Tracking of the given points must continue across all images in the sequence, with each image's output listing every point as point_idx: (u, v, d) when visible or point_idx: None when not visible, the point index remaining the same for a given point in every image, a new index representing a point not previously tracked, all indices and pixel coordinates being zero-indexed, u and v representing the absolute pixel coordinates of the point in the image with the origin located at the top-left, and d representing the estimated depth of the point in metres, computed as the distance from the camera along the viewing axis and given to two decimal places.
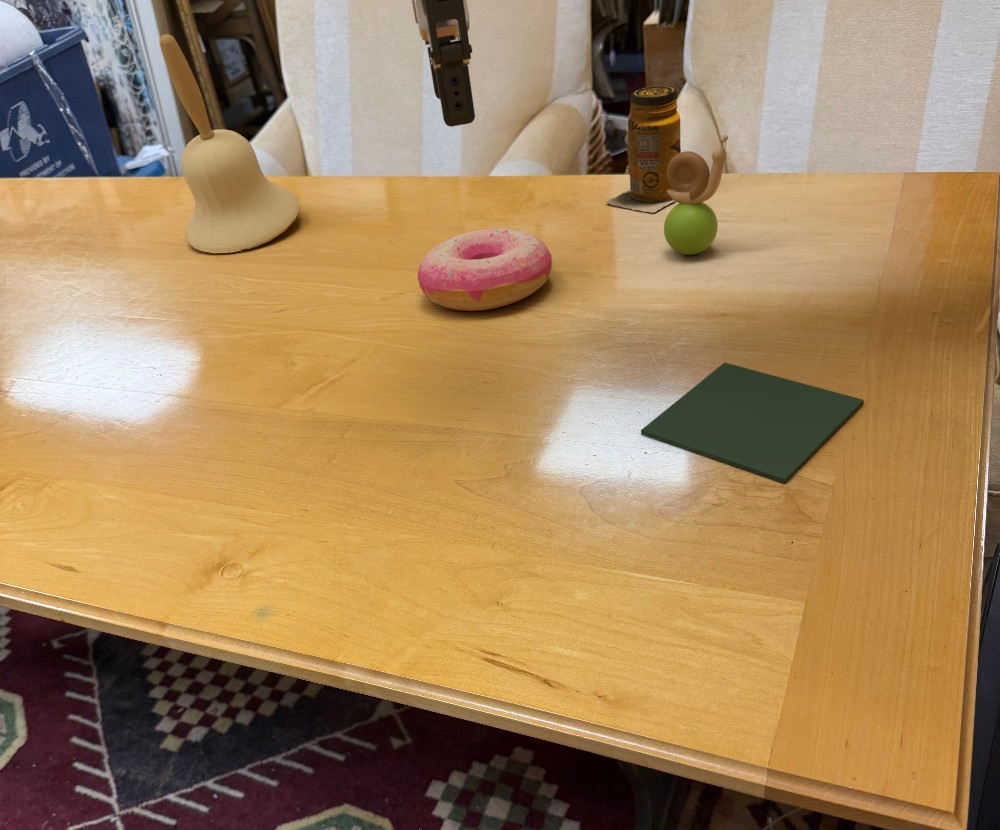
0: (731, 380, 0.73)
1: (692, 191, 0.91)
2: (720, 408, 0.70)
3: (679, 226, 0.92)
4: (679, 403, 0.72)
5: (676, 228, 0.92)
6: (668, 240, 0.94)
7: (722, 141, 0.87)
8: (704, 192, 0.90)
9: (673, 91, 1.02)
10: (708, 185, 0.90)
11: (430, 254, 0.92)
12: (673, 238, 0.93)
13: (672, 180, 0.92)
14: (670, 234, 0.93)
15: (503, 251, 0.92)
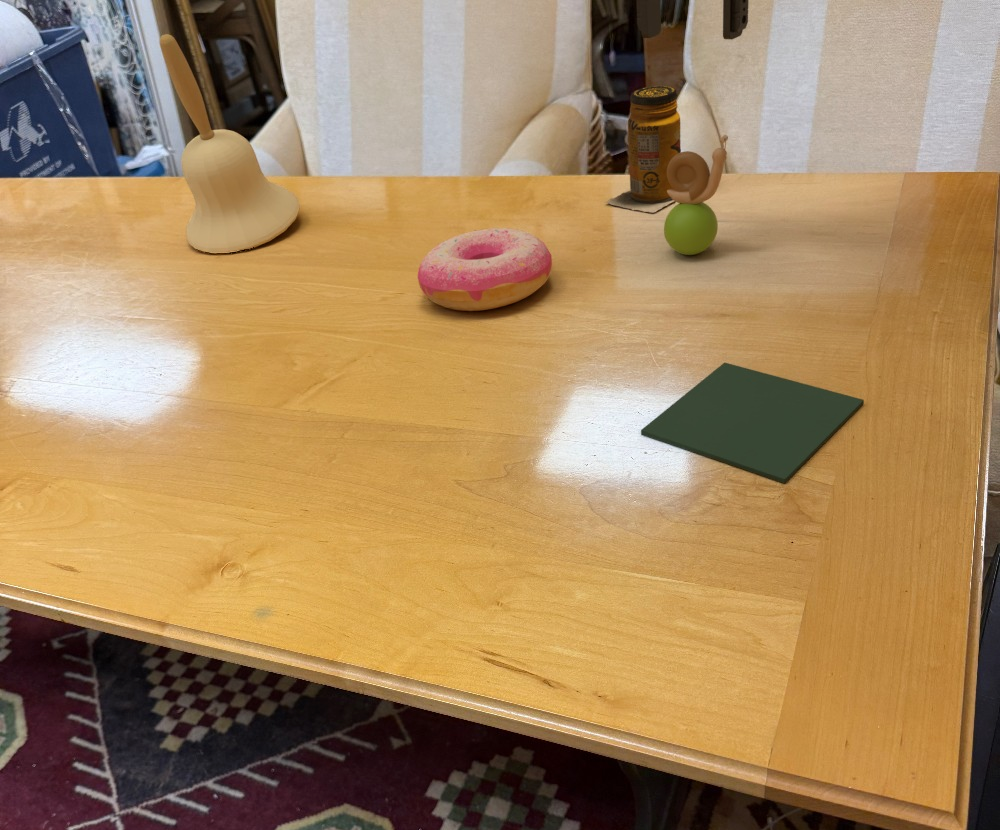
0: (731, 380, 0.73)
1: (692, 191, 0.91)
2: (720, 408, 0.70)
3: (679, 226, 0.92)
4: (679, 403, 0.72)
5: (676, 228, 0.92)
6: (668, 240, 0.94)
7: (722, 141, 0.87)
8: (704, 192, 0.90)
9: (673, 91, 1.02)
10: (708, 185, 0.90)
11: (430, 254, 0.92)
12: (673, 238, 0.93)
13: (672, 180, 0.92)
14: (670, 234, 0.93)
15: (503, 251, 0.92)
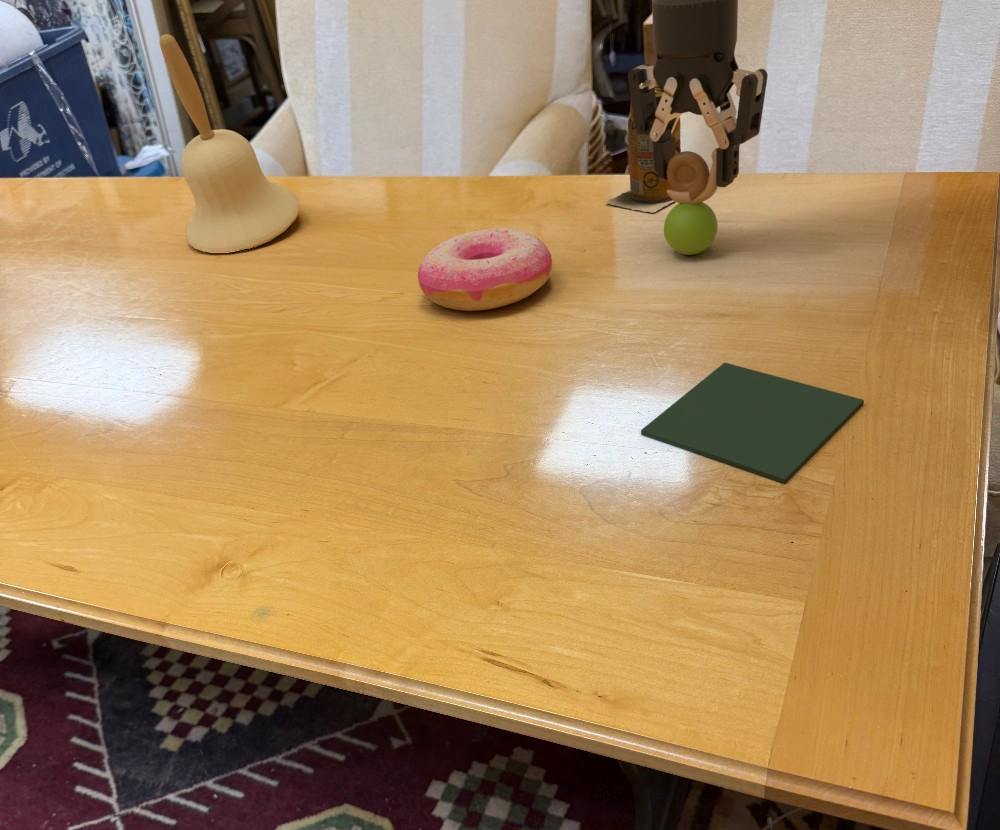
0: (731, 380, 0.73)
1: (692, 191, 0.91)
2: (720, 408, 0.70)
3: (679, 225, 0.92)
4: (679, 403, 0.72)
5: (675, 228, 0.92)
6: (668, 240, 0.94)
7: None
8: (704, 192, 0.90)
9: None
10: (708, 185, 0.90)
11: (430, 254, 0.92)
12: (673, 238, 0.93)
13: (672, 180, 0.92)
14: (670, 234, 0.93)
15: (503, 251, 0.92)
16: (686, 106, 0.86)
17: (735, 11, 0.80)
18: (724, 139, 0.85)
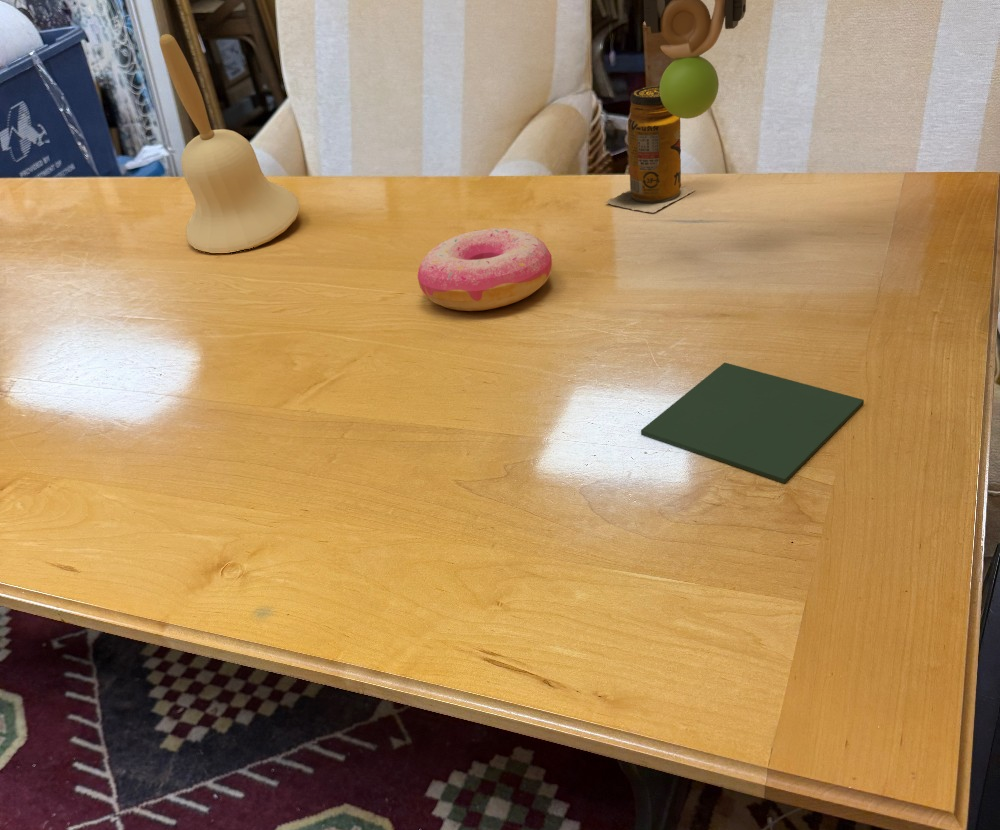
0: (731, 380, 0.73)
1: (693, 40, 0.82)
2: (720, 408, 0.70)
3: (684, 81, 0.83)
4: (679, 403, 0.72)
5: (680, 84, 0.83)
6: (669, 102, 0.84)
7: None
8: (706, 40, 0.82)
9: None
10: (711, 31, 0.81)
11: (430, 254, 0.92)
12: (677, 97, 0.84)
13: (668, 32, 0.82)
14: (673, 93, 0.84)
15: (503, 251, 0.92)
16: None
17: None
18: None
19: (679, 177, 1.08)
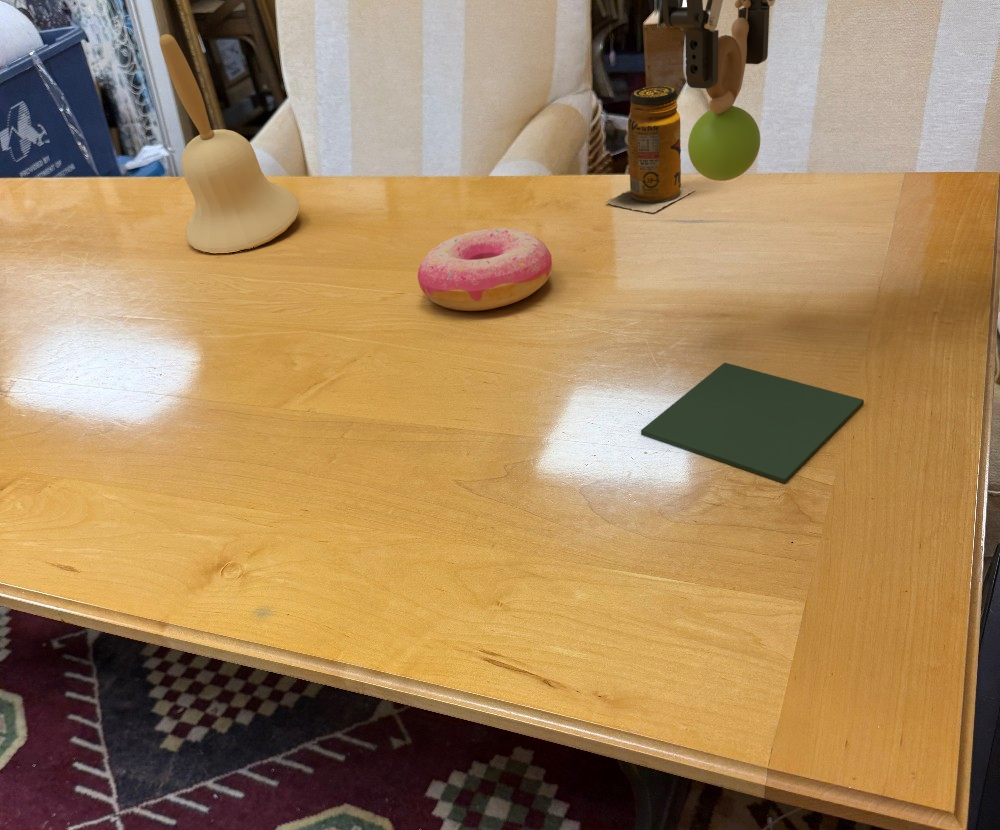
0: (731, 380, 0.73)
1: (737, 85, 0.68)
2: (720, 408, 0.70)
3: (754, 130, 0.68)
4: (679, 403, 0.72)
5: (753, 135, 0.68)
6: (742, 160, 0.69)
7: (750, 4, 0.67)
8: (740, 83, 0.69)
9: (673, 91, 1.02)
10: None
11: (430, 254, 0.92)
12: (753, 150, 0.69)
13: (720, 82, 0.66)
14: (749, 148, 0.68)
15: (503, 251, 0.92)
16: None
17: None
18: None
19: (679, 177, 1.08)
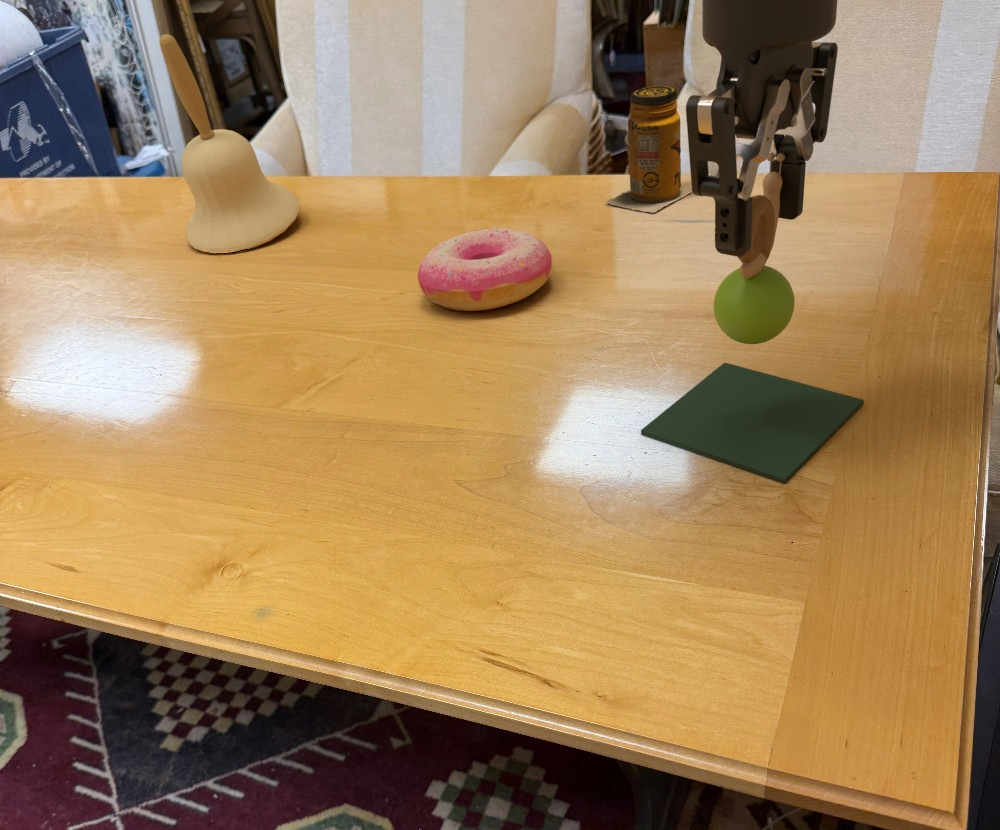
0: (731, 380, 0.73)
1: (769, 246, 0.61)
2: (720, 408, 0.70)
3: (789, 295, 0.61)
4: (679, 403, 0.72)
5: (787, 300, 0.61)
6: (775, 327, 0.62)
7: (784, 158, 0.60)
8: None
9: (673, 91, 1.02)
10: None
11: (430, 254, 0.92)
12: (787, 316, 0.62)
13: (752, 247, 0.59)
14: (783, 314, 0.61)
15: (503, 251, 0.92)
16: (777, 122, 0.56)
17: None
18: (810, 146, 0.59)
19: (679, 177, 1.08)
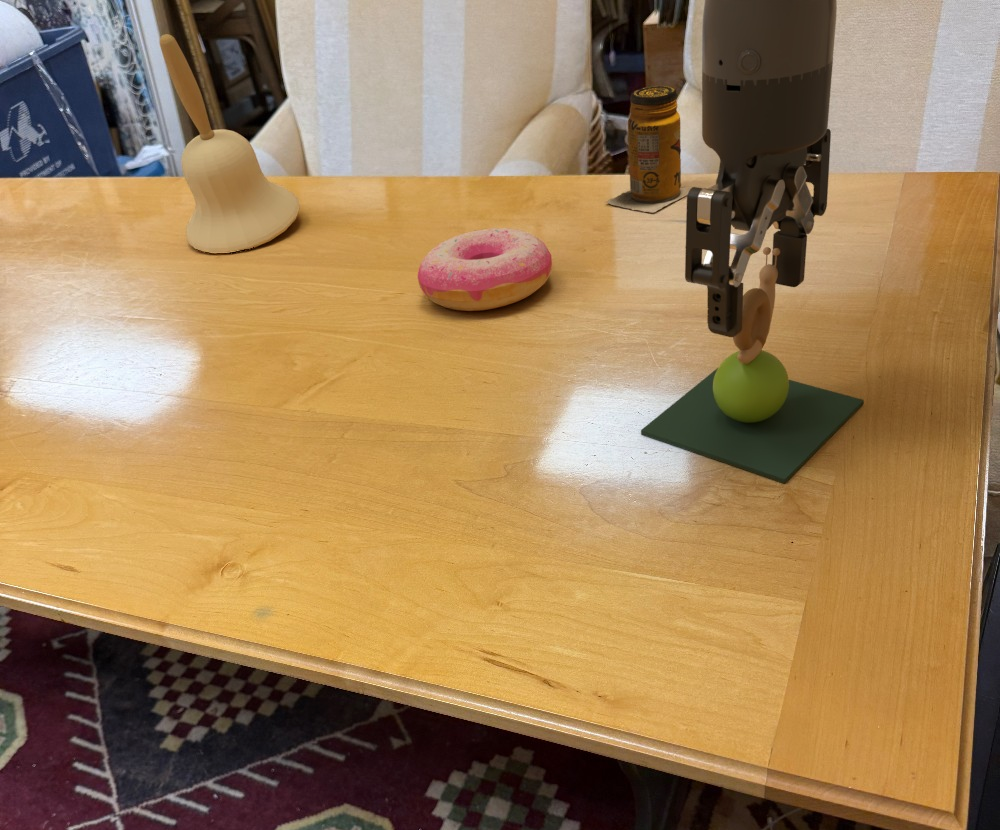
0: None
1: (765, 334, 0.65)
2: None
3: (783, 379, 0.65)
4: (679, 403, 0.72)
5: (782, 384, 0.65)
6: (770, 409, 0.66)
7: (779, 252, 0.64)
8: None
9: (673, 91, 1.02)
10: None
11: (430, 254, 0.92)
12: (782, 398, 0.66)
13: (749, 337, 0.63)
14: (778, 397, 0.65)
15: (503, 251, 0.92)
16: (773, 216, 0.59)
17: None
18: (811, 220, 0.63)
19: (679, 177, 1.08)
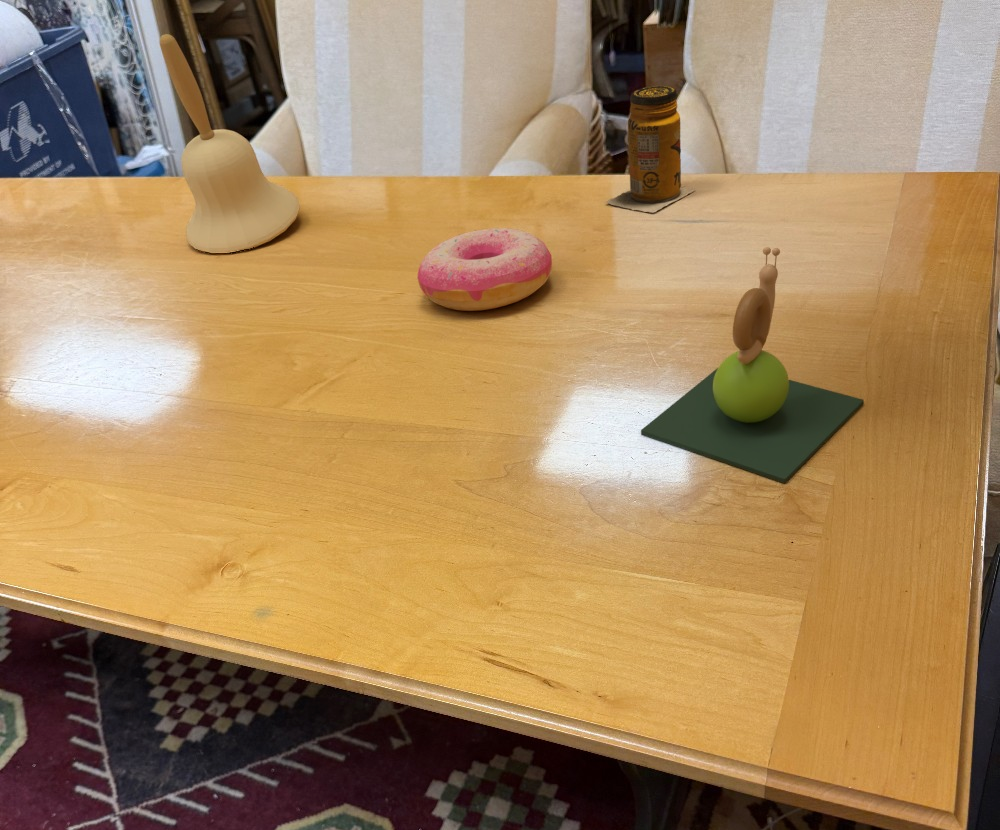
0: None
1: (765, 334, 0.65)
2: None
3: (783, 379, 0.65)
4: (679, 403, 0.72)
5: (782, 384, 0.65)
6: (770, 409, 0.66)
7: (779, 252, 0.64)
8: None
9: (673, 91, 1.02)
10: None
11: (430, 254, 0.92)
12: (782, 398, 0.66)
13: (749, 337, 0.63)
14: (778, 397, 0.65)
15: (503, 251, 0.92)
16: None
17: None
18: None
19: (679, 177, 1.08)
